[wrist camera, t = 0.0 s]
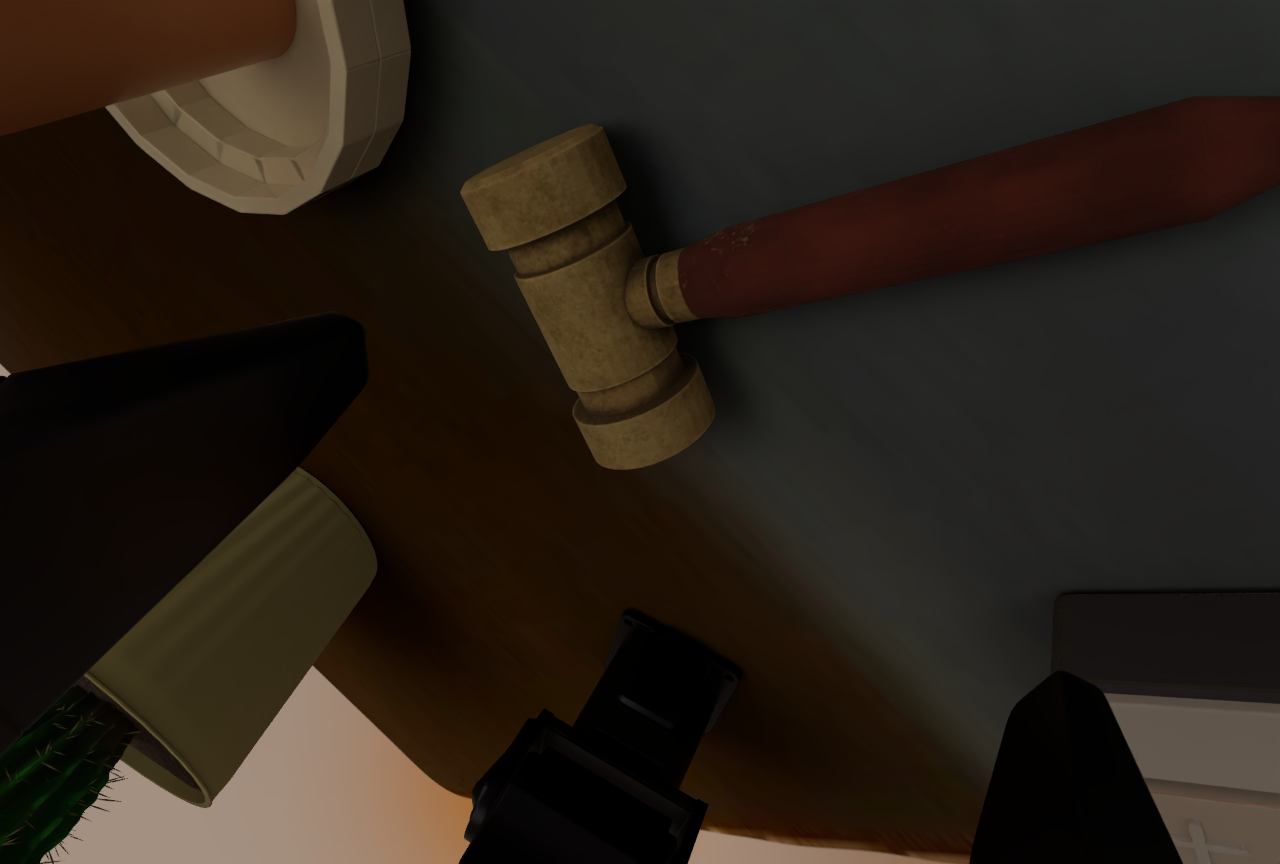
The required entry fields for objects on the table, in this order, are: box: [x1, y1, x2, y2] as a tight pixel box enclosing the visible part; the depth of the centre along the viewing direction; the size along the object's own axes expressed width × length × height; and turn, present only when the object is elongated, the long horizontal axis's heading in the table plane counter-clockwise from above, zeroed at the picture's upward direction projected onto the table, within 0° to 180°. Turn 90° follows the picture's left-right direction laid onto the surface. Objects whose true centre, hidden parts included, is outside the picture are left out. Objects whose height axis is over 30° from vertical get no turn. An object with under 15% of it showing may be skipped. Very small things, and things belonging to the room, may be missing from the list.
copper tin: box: [0, 0, 296, 136], centre depth 20 cm, size 5×5×12 cm
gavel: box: [460, 97, 1280, 469], centre depth 19 cm, size 21×5×10 cm
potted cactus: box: [0, 467, 377, 864], centre depth 37 cm, size 15×15×30 cm
